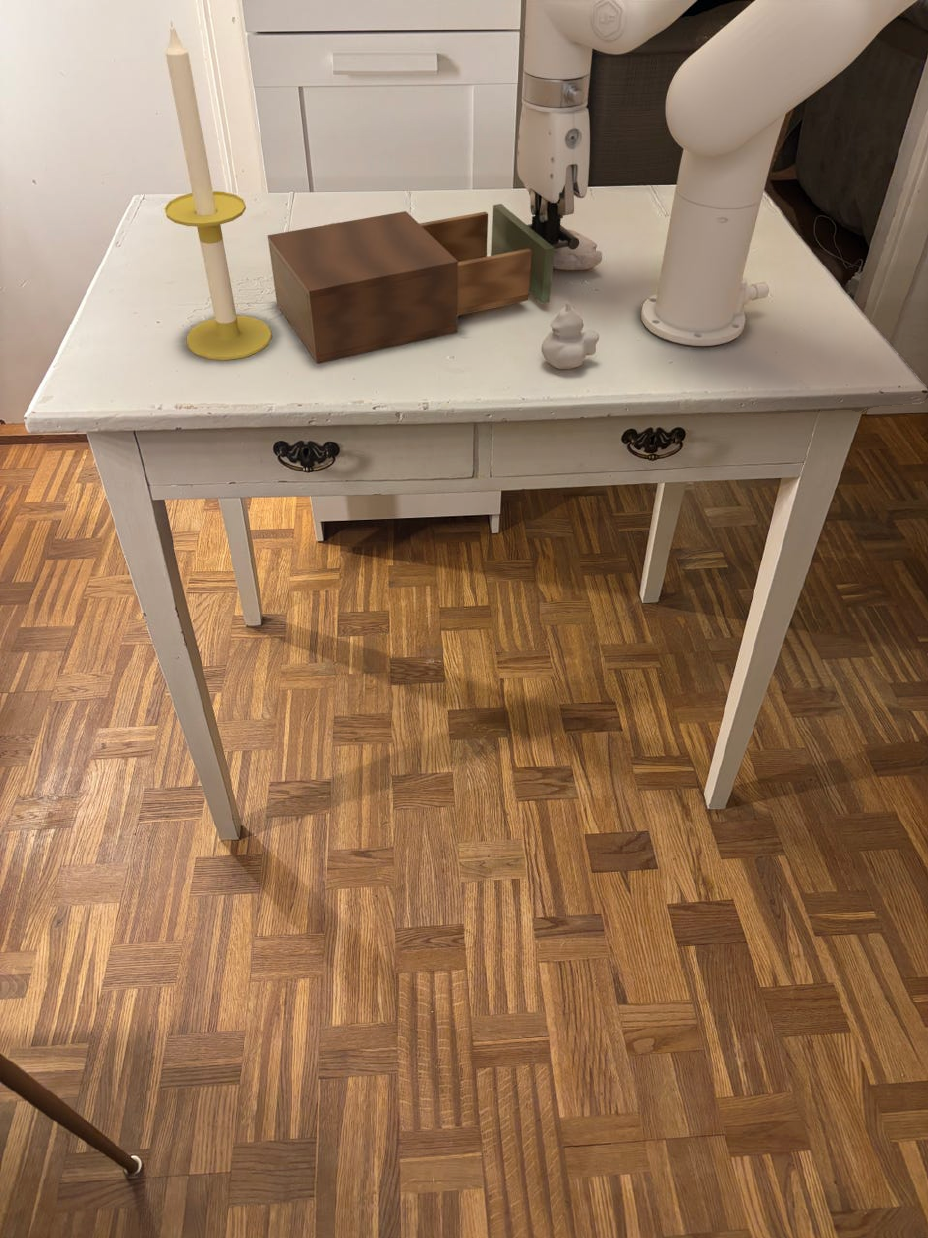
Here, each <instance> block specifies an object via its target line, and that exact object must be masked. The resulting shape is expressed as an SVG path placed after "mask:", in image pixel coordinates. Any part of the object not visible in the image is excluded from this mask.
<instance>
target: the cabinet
mask: <svg viewBox="0 0 928 1238" xmlns="http://www.w3.org/2000/svg"><path fill="white" fill-rule="evenodd" d="M334 223H335V224H331V223H328V224H329V225H328V224H324V225H318V226H312V227H308V228H301V229H297V230H290V231H284V232H278V233H274V234H268V235H267V242H268V248H269V249H268V250H269V256H270V263H271V271H272V278H273V286H274V292H275V293H274V294H275V300H276V305H277V307H278V309H279V310H280V311H281V313H282V315H283V316H284V317H285V319H286V320H287V322H288V323H289V325H290V326H291V327H292V329H293V330H294V332H295V333H296V335H297V336H298V338H299V339H300V340H301V342H302V343H303V345H304V347H305V348H306V350H307V351H308V352H309V353H310V355H311V356H312V358H313V360H314V361H315V362H316V364H321V363H325V362H329V361H335V360H338V359H343V358H348V357H353V356H357V355H361V354H366V353H370V352H374V351H380V350H383V349H388V348H393V347H396V346H397V347H398V346H401V345H406V344H410V343H415V342H420V341H424V340H429V339H432V338H433V339H434V338H438V337H441V336H448V335H450V334H455V333H458V316H457V306H458V261H457V260H456V259H455V258H454V257H453V256H452V255H451V254H450V253H449V252H448V251H447V250H446V249H445V248H444V247H442V246H441V245H440V244H439V243H438V242H437V241H436V240H435V239H434V238H433V237H432V236H431V235H430V234H429V233H428V232H427V231H426V230H425V229H424V228H423V227H422V226H421V225H420V223H419V222H418V221H417V220H416V219H415V218H414V217H413V216H412V215H410V213H409V212H407V211H406V210H403V211H400V212H398V211H397V212H393V213H392V212H391V213H386V214H381V215H376V216H370V217H364V218H359V219H353V220H347V221H342V222H340V223H339V222H334Z"/></svg>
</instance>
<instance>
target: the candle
mask: <svg viewBox="0 0 928 1238" xmlns="http://www.w3.org/2000/svg"><path fill="white" fill-rule="evenodd" d="M170 26H171V27H170V28H169V43H168V47H167V49H166V50H165V57H166V63H167V67H168V73H169V78H170V83H171V88H172V94H173V99H174V103H175V109H176V115H177V120H178V124H179V130H180V135H181V141H182V145H183V151H184V156H185V162H186V166H187V172H188V176H189V183H190V187H191V193H187V194H184V195H180V196H177V197H176V198H174V199H172V200H170V201H169V202H168V203H167V204H166V206H165V207H164V213H165V215H166V217H167V219H168V220H170V221H171V222H173V223H174V224H178V225H182V226H186V227H196V228H197V233H198V237H199V243H200V249H201V253H202V259H203V264H204V269H205V275H206V279H207V285H208V290H209V296H210V301H211V305H212V311H213V316H214V317H213V318H210V319H208V320H204V321H202V322H200V323H199V324H197V325H195V326H194V327H192V328H191V329H190V331H189V333H188V334H187V336H186V339H185V340H186V345H187V348H188V349H189V350H190V351H191V352H192V353H193V354H195V355H196V356H198V357H202V358H205V359H208V360H218V361H230V360H237V359H238V360H239V359H243V358H247V357H249V356H252V355H255V354H257V353H259V352H261V351H262V350H263V349H264V348H266V347H267V346H269V344H270V343H271V341H272V337H273V334H272V331H271V328H270V326H269V325H268V324H267V323H265V322H264V321H262V320H261V319H258V318H254V317H251V316H247V315H237V311H236V305H235V301H234V300H235V299H234V294H233V288H232V283H231V277H230V272H229V267H228V260H227V254H226V249H225V244H224V238H223V232H222V225H224V224H228V223H230V222H233V221H235V220H237V219H238V218H240V217H241V216H243V214H244V213H245V211H246V208H247V206H246V203H245V201H244V199H243V198H242V197H240V196H238V195H237V194H235V193H230V192H226V191H217V190H213V185H212V178H211V174H210V173H211V172H210V167H209V162H208V156H207V151H206V145H205V140H204V139H205V138H204V133H203V129H202V123H201V118H200V117H201V116H200V111H199V105H198V100H197V95H196V89H195V83H194V77H193V71H192V66H191V60H190V54H189V50H188V49H187V48H186V47H185V46H184V45H183V44H182V42H181V40H180V38H179V36H178V34H177V33H178V32H177V30H176V28H175V27H174V26H173V20H170Z"/></svg>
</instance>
